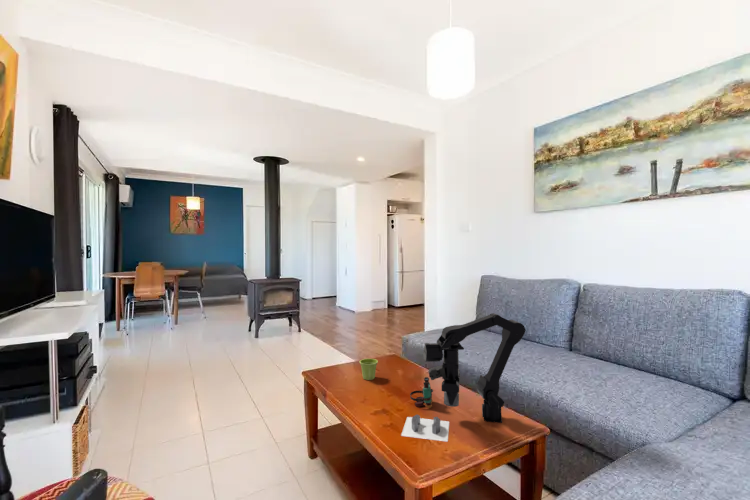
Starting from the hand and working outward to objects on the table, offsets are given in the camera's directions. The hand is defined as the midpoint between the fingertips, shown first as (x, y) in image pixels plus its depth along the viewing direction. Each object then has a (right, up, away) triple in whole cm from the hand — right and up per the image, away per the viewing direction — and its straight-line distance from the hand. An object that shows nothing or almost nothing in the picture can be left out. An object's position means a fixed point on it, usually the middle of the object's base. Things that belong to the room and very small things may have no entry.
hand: (451, 401), depth 129 cm
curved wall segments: (-11, -7, -6) cm, 14 cm away
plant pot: (-32, -8, +45) cm, 56 cm away
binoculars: (-10, -8, +14) cm, 18 cm away
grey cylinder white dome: (0, -1, 0) cm, 1 cm away
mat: (-11, -7, -6) cm, 14 cm away
